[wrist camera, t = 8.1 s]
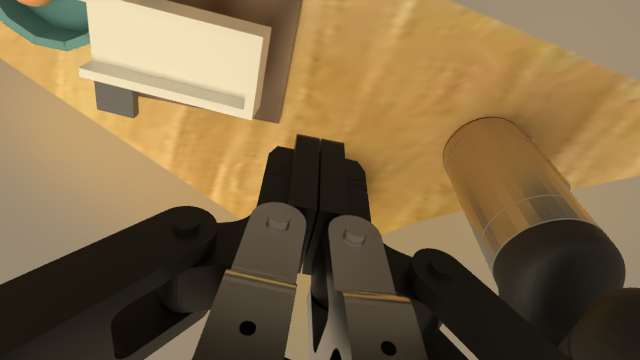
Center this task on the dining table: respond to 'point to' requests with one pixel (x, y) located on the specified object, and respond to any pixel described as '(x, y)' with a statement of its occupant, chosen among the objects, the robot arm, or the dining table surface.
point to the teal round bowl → (49, 23)
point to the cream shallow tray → (174, 57)
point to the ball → (35, 2)
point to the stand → (282, 16)
